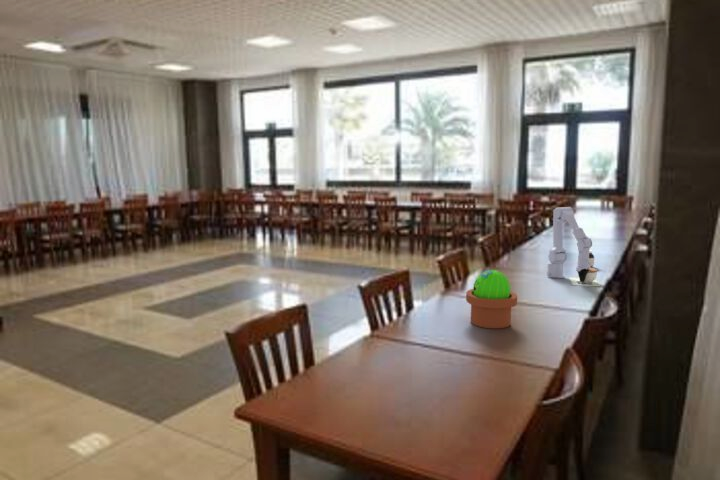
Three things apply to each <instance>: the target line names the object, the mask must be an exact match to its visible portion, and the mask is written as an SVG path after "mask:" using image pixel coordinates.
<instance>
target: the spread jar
mask: <svg viewBox="0 0 720 480" xmlns="http://www.w3.org/2000/svg"><path fill="white" fill-rule="evenodd" d="M578 256H579V254H578ZM578 256H577V257H578ZM576 263H577V266H578V261H577V262H576ZM589 265H590V266H589V267H590V268H594V265H595V256H594V254H593V250H592V249H590V250H589Z"/></svg>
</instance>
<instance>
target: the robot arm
mask: <svg viewBox="0 0 720 480" xmlns="http://www.w3.org/2000/svg"><path fill="white" fill-rule="evenodd" d="M552 214H553V218H552V221H553V222H552V224H553V225H552V229H553V230H552V232H553V235H552V236H553V239H552V240H553V247H552V248H551V249H549V253H548V260H549V262H547V267H546V276H547V278H555V279H556V278H558V279H559V278H560V279H565V275H563V273H564V264H565V262H566V260H567V259H568V256H567V253H566V251H567V250H566V249H565V247H563V243H564V242H563V233H564V232H563V231H564V230H563V227H564V226H563V223H564V221H566V222H567V223H568V225H570V227H571V229H572V235H573V236H574V239H575V240H576V241H577V242H576V246H577V251H578V255H579V256H577V262H578V265H577V267H576V270H575V271H576V273H577V275H578V274H579V276H578V278H580V281H581V282H584V281H585V278H586V275H587V273H588V271H589V270H588V269H587V268H590V267H589V266H590V265H589V250H591V247H592V246H593V241H592V238H590V237H588V236H587V235H586V233H585V231H584V229H583V228H582V227H580V226H579V225H578V221H576V218H575V216H574V214H575V212H574V210H573V208H572V207H571V206H565V207H562V206H561V207H559V206H558V207H555V208H554V209H553V213H552Z"/></svg>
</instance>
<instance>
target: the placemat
mask: <svg viewBox="0 0 720 480" xmlns="http://www.w3.org/2000/svg"><path fill="white" fill-rule="evenodd" d="M568 279H569V281H570V282H571V284H572V285H573V286H584V287H585V286H587V287H602V286H601V284H600V283H599V281H598V280H596V279H595V280H594V281H593V282H592V283H585V282H581V281H580V279H579V277H568Z"/></svg>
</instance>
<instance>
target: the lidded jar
mask: <svg viewBox="0 0 720 480" xmlns="http://www.w3.org/2000/svg"><path fill="white" fill-rule="evenodd" d="M587 269H588V270H589V271H588V273H587V275H586V278H585V281H584V282H585V283H592V282H593V281H594V280H596V279H597V276H598V269H597V268H595V267H591V268H587ZM577 276H578V278H579V274H578V273H577ZM579 279H580V278H579Z"/></svg>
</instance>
